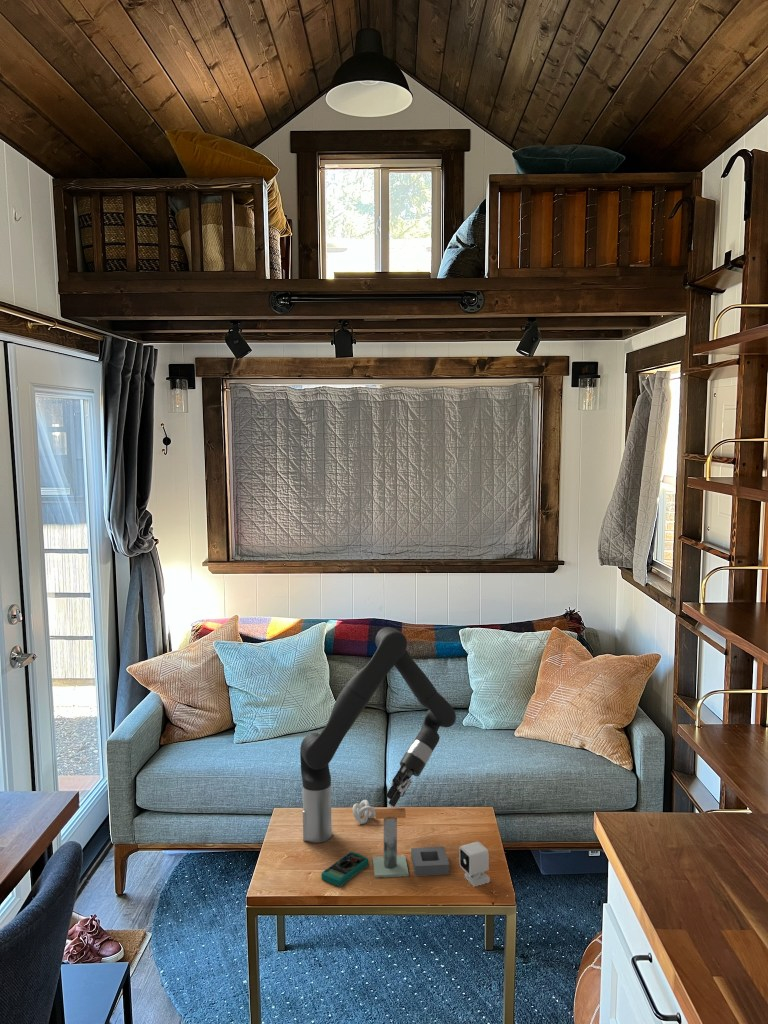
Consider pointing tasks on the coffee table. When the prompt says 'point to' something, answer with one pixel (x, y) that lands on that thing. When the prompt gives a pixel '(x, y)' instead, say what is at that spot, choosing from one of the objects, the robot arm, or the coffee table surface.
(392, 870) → the pad
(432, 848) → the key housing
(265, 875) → the coffee table surface
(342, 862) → the digital multimeter
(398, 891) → the coffee table surface
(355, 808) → the knot
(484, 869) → the security camera
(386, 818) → the t key
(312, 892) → the coffee table surface
